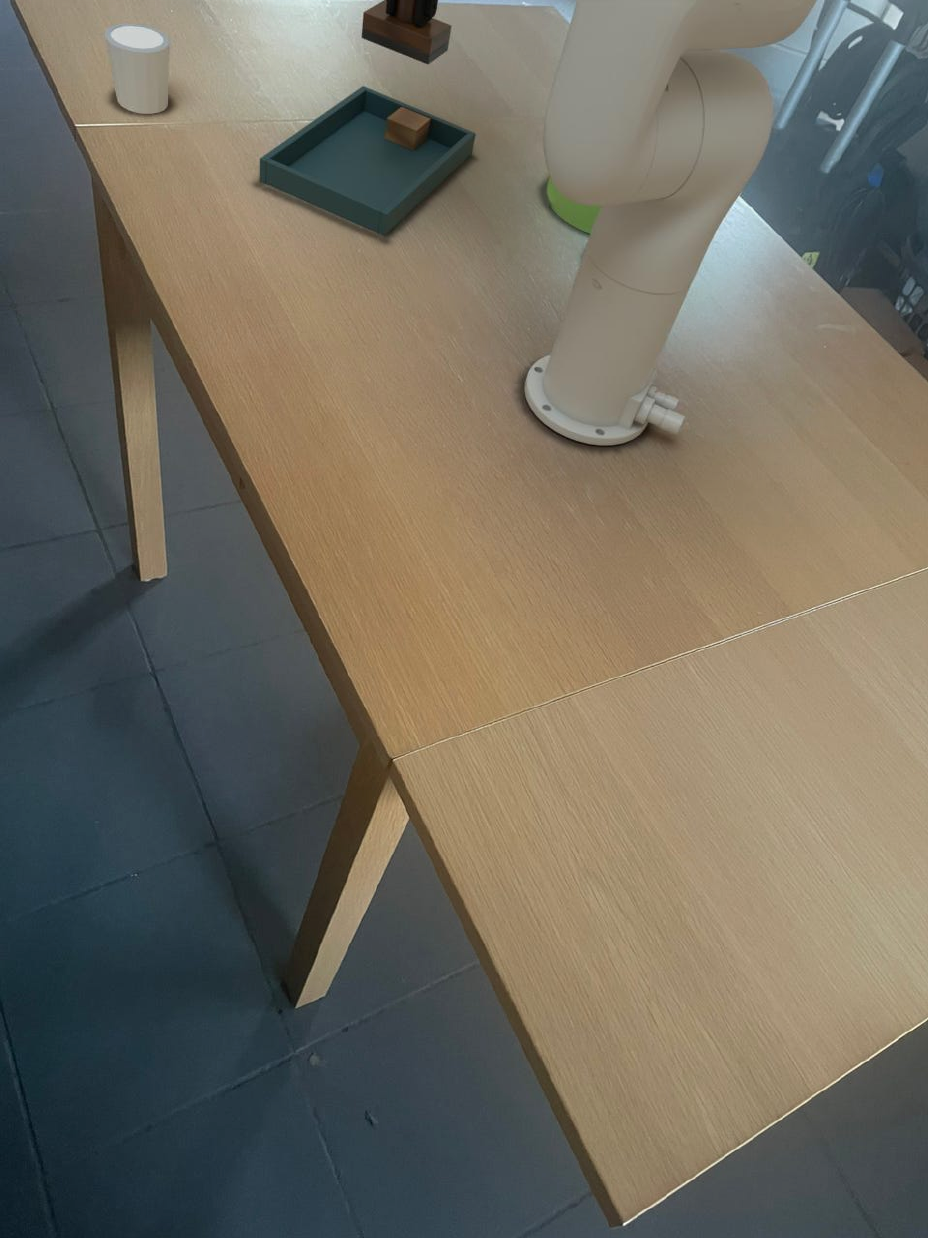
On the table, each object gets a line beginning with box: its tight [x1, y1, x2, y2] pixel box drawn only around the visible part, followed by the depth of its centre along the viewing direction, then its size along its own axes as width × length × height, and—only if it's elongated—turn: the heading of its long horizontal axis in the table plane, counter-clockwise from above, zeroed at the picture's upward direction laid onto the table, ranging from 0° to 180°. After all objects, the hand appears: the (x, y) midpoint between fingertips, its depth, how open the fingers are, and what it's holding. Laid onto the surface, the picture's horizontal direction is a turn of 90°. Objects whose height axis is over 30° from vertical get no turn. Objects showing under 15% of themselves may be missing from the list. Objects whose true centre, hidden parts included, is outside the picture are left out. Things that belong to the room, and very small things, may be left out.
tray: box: [259, 85, 477, 237], centre depth 107 cm, size 16×24×3 cm, turn 156°
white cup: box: [104, 22, 171, 115], centre depth 104 cm, size 7×7×7 cm
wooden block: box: [385, 107, 430, 151], centre depth 112 cm, size 4×4×2 cm
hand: (409, 14), depth 97 cm, fingers closed on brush, 2 cm apart
